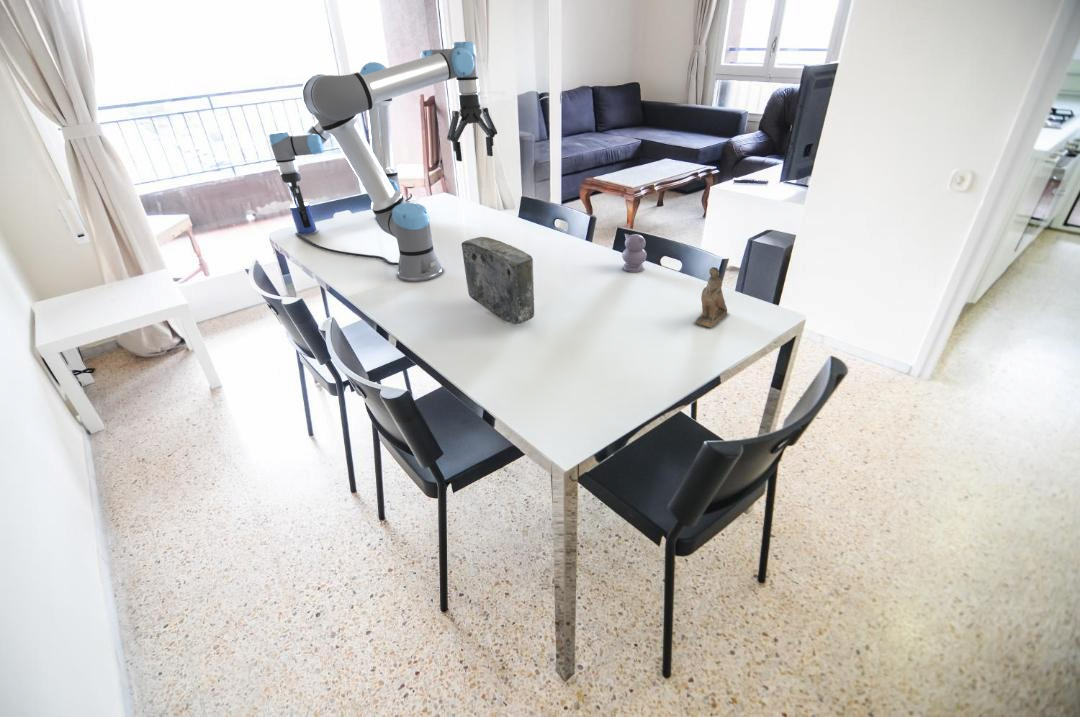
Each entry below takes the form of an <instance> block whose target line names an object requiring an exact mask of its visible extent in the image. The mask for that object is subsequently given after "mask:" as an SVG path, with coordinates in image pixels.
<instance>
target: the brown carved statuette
mask: <svg viewBox="0 0 1080 717" xmlns="http://www.w3.org/2000/svg"><path fill="white" fill-rule="evenodd" d="M708 273H709V275H710V276H709V278H708V279H707V280H708V281H707V284H706V286H705V287H704V288H703V290H702V292H701V297H700V298H701V309H702V312H701V315H700V316H699V317H698V318H697V319H696V321H695V324H696V325H699V326H703V327H705V328H712V327H714V326H715V325H716V324H717V323H719V321H721V320H722V319H723V318H725V317H726V316H727V315H728V307H727V304H726V301H725V298H724V293H723V290H722V287H723V281H722V279H721V278H720V270H719V269H718V268H717V267H715V266H712V267H711V268H710V269H709V270H708Z"/></svg>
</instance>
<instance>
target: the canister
mask: <svg viewBox="0 0 1080 717" xmlns="http://www.w3.org/2000/svg"><path fill="white" fill-rule="evenodd" d="M304 204H305V207H306V210H307V211H306V212H307V216H308V219H309V223H310V226H311V227H307V228H304V226H303V223H302V219H301V216H300V213H298V212H299V208H298V205H297V204H294V203H292V204H290V205H289V209H290V212H291V216H292V218H293V222H294V226H295V228H296V233H299V234H300V235H306V234H312V233H314V232H316V231H317V226H316V222H315V219H314V216H313V212H312V209H311V205H310V203H309V202H304Z"/></svg>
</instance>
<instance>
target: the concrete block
mask: <svg viewBox="0 0 1080 717" xmlns="http://www.w3.org/2000/svg"><path fill="white" fill-rule="evenodd" d="M461 251H462V257H463V258H462V259H463V266H464V273H465V280H466V285H467V291H468V293H467V294H468V296H469V298H471V299H472V300H473V301H475V302H477V304H479V305H480V306H482V307H483V308H485V309H486V310H487V311H489V312H491V313H492V314H493V315H495V316H496V317H498V318H500V319H501V320H503V321H505V322H506V323H507V322H508V323H510V324H513V325H521V324H523V323H526V322H528V321H529V320H532V319H533V318H534V317H535V292H534V290H535V289H534V288H535V287H534V259H533V256H532V255H530V253H527V252H525V251H523V250H521V249H519V248H517V247H515V246H513V245H511V244H508V243H505V242H503V241H500V240H498V239H494V238H490V237H486V236H477V237H474V238H470V239H467V240H465V241H463V242H461Z"/></svg>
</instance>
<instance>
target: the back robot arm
mask: <svg viewBox="0 0 1080 717" xmlns="http://www.w3.org/2000/svg"><path fill="white" fill-rule="evenodd" d="M386 68H387V67H386V66H384V65H383V64H382V63H380V62H375V61H373V62H371V61H370V62H368V63H365V64H364V65H363V66H362V67H361V69H360V71H359V73H360V74H362V75H366V74H369V73H373V72H376V71H379V70H383V69H386ZM392 103H393V98H391V99H387V100H384V101H381V102H378V103H375V104H374V106H373V108H372V109H370V110H367V117H368V118H367V119H368V129H369V139H370V148H371V149H372V151H373V153H374V155H375V156H376V158H377V160H378V162H379V164H380V165H381V167H382V169H383V171H384V172H385V174H386V176H387V178H388V180H389V181H390V183H391V185H392V187H393V188H394V190H395V191H399V192H401V187H400V181H399V175H398V169H397V168H396V167H395V166H394V156H393V144H392V130H391V128H392V127H391V118H390V105H391V104H392ZM331 137H333V136H332V134H330V133H327V132H325V131H324V130H323V129H322V127H321V126H320V124H319V122H318V121H315V123H314V124H313V125H312V126H310V128H309V129H307V130H306V132H304V133H303V134H300V135H290V134H289V132H288V131H287V130H279V131H272V132H270V133H268V139H269V143H270V147H271V150H272V153H273V156H274V159H275V162H276V165H275V167H276V168H278V171H279V172H278V173H280V174H279V175H280V179H281V182H282V183H285V184H287V187H288V190H289V193H290V196H291V199H292V204H297V205H298V208H299V212H298V213H300V216H301V219H302V223H303V226H304V228H307V227H311V226H310V223H309V219H308V216H307V212H306V211H307V210H306V207H305V204H304V203H305V201H304V198H303V194H302V191H301V188H300V185H299V184H298V182H300V181H301V180H302V177H301V173H300V171H298V170H299V165H298V163H297V162H298V161H297V159H296V157H298V156H308V155H315V156H316V155H319V154H322V153H324V144H325V143H326V142H327V141H328V140H330V138H331ZM409 195H410V196H409V197H408V198H407V199H405V201H406V202H408V201H410V200H411V199H412V198H413V194H412V193H410V194H409Z"/></svg>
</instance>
